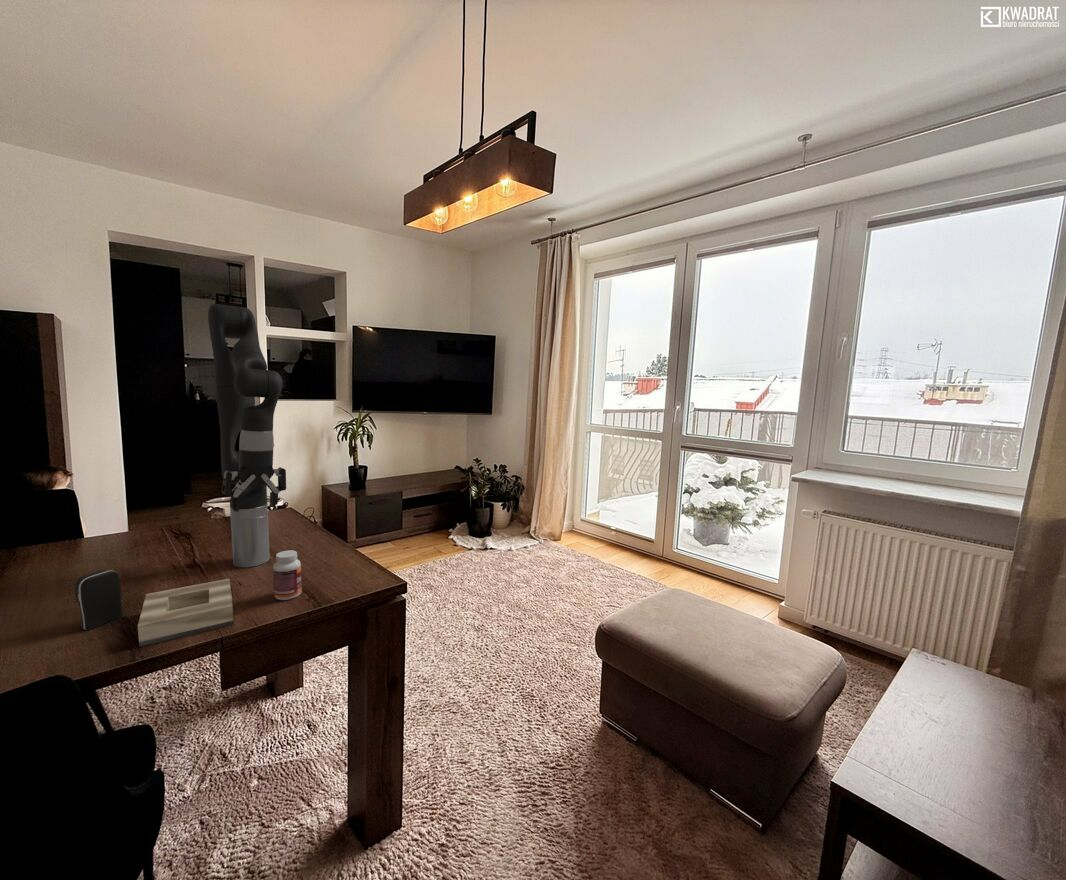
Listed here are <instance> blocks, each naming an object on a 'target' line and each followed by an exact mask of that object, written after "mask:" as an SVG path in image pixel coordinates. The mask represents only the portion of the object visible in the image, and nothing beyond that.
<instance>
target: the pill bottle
mask: <svg viewBox="0 0 1066 880" xmlns="http://www.w3.org/2000/svg"><path fill="white" fill-rule="evenodd" d="M275 560H276V562H275V563H274V564H273V566H272V573H273V574H272V575H273V595H274V598H275V599H277V600H279V601H287V600H293V599H295V598H297V597H299V596H300V595H301V594H302V591H303V589H302V564H301V561H300V560H299V559H298V552H297V551H296V550H291V549H290V550H289V549H288V550H283V551H279V552H278V553H276V555H275Z"/></svg>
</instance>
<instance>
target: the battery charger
mask: <svg viewBox="0 0 1066 880" xmlns="http://www.w3.org/2000/svg"><path fill="white" fill-rule="evenodd" d="M74 598H75V602H77V603H78V605H79V611H80V617H81V621H80V627H81V628H82V629H83V630H85V631H86V630H87V631H89V630H91V629H94V628H97V627H101V626H103V625H105V624H108V623H110V622H112V621H114V620H117V619H119V618H121V617H122V616H124V615H123V607H122V606H123V605H122V588H121V578H120V575H119V573H118V572H117V571H116V570H113V569H112V570H111V569H102V570H99V571H96V572H92V573H89V574H85V575H83V576H81V577H80V576H79V578H78V579H76V581H75V582H74Z"/></svg>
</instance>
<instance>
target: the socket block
mask: <svg viewBox="0 0 1066 880" xmlns="http://www.w3.org/2000/svg"><path fill="white" fill-rule="evenodd" d="M233 610H234V609H233V597H232V590H231V580H230V578H225V579H219V580H214V581H209V582H203V583H197V584H194V585H192V584H191V585H187V586H182V587H178V588H172V589H165V590H160V591H155V592H151V593H145V597H144V601H143V604H142V609H141V612H140V616H139V620H138V624H137V633H138V642H139V643H138V645H139V648H141V647H144V646H145V647H146V646H149V645H153V644H158V643H161V642H166V641H171V640H175V639H178V638H179V639H180V638H183V637H187V636H191V635H195V634H196V635H197V634H199V633H204V632H209V631H212V630H216V629H220V628H225V627H230V626H233V625H234V612H233Z"/></svg>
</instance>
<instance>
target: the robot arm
mask: <svg viewBox="0 0 1066 880" xmlns="http://www.w3.org/2000/svg"><path fill="white" fill-rule="evenodd" d="M207 311H208V312H207V321H208V330H209V335H210V342H211V348H212V355H213V362H214V363H213V365H214V379H215V381H214V382H215V384H214V385H215V395H216V403H217V411H218V421H219V428H220V430H219V431H220V432H219V434H220V462H221V463H220V466H221V467H220V468H221V475H222V486H221V493H222V494H223V495H224V496H226V497H230V498H229V512H230V515H229V516H230V528H231V529H230V530H231V545H232V546H231V547H232V565H233V566H234V567H237V568H250V567H252V568H253V567H256V566H260V565H264V564H266V563H268V562H269V561H270V557H271V556H270V535H269V532H270V531H269V513H268V489H269V490H270V491H271V492H269V507H271V508H276V505H277V506H278V503H279V493H280V492H284V491H286V489H287V471H286V468H283V467H281V466H280V467H278V468H274V467H273V465H274V446H275V444H274V441H275V439H274V415H275V410H276V407H277V404H278V400H279V398H280V396H281V393H282V390H283V383H284V381H283V379H282V378H283V377H282V376H281V375H280V373H278V371H275V370H269V369H268V365H267V364H268V363H267V361H266V359H265V356H264V354H263V352H262V350H261V349H262V348H261V346H260V341H259V340H260V339H259V333H258V327H257V324H256V323H257V321H256V318H255V316H254V313H253V312H252V311H251V309H249V308H247V307H244V306H243V307H242V306H235V305H227V304H221V303H220V304H218V303H213V304H211V305H209V307H208V310H207ZM226 339H235V340H236V339H237V340H238V341H236V342H235V344H234V345H233V347H232V351H230V348H229V346H228V344H227V340H226ZM256 398H264V399H263V401H262V402H261V403H260V404H257V405H256ZM239 433H240V434H239ZM238 436H239V444H238V445H239V447H238V448H239V450H235V447H236V442H237V439H238ZM274 475H275V476H276V477H277V486H276V485H275V484H274V482H273V481H272V480H271V479H272V477H273V476H274ZM232 485H235V486H234V487H233V489H232V490H231V488H232ZM267 488H268V489H267Z"/></svg>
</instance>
